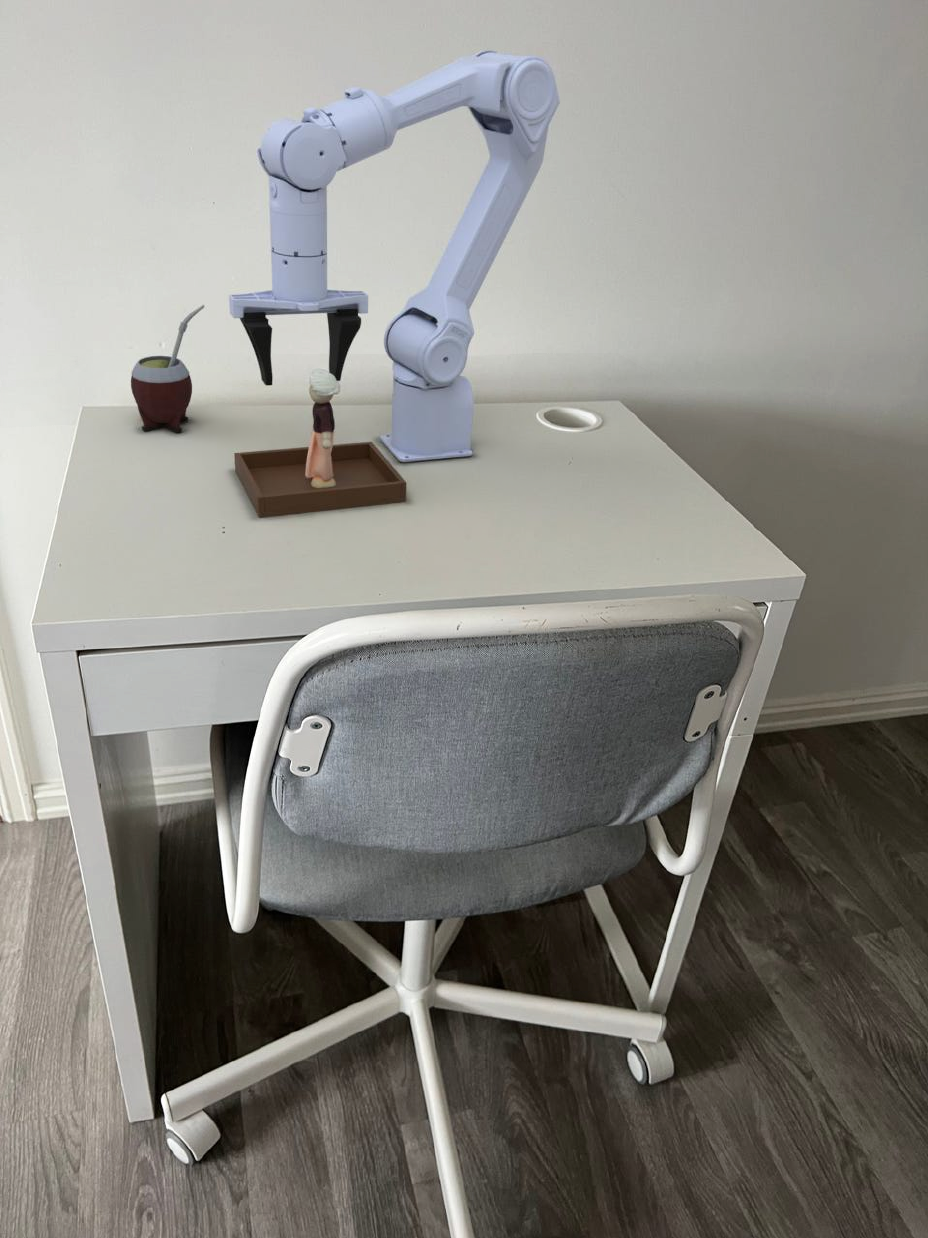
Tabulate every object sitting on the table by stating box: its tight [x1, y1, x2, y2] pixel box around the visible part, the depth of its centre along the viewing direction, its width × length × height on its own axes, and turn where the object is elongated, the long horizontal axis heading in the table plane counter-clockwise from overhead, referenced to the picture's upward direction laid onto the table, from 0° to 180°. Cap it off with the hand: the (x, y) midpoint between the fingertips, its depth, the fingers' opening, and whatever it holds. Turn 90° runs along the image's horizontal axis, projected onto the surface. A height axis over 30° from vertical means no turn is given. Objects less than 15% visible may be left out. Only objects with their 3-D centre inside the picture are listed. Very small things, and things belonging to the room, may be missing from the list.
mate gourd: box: [130, 304, 205, 434], centre depth 117 cm, size 8×8×15 cm
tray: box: [233, 441, 407, 518], centre depth 108 cm, size 16×12×2 cm
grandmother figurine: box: [305, 368, 341, 488], centre depth 105 cm, size 8×4×13 cm, turn 21°
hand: (301, 380), depth 107 cm, fingers open, 7 cm apart
